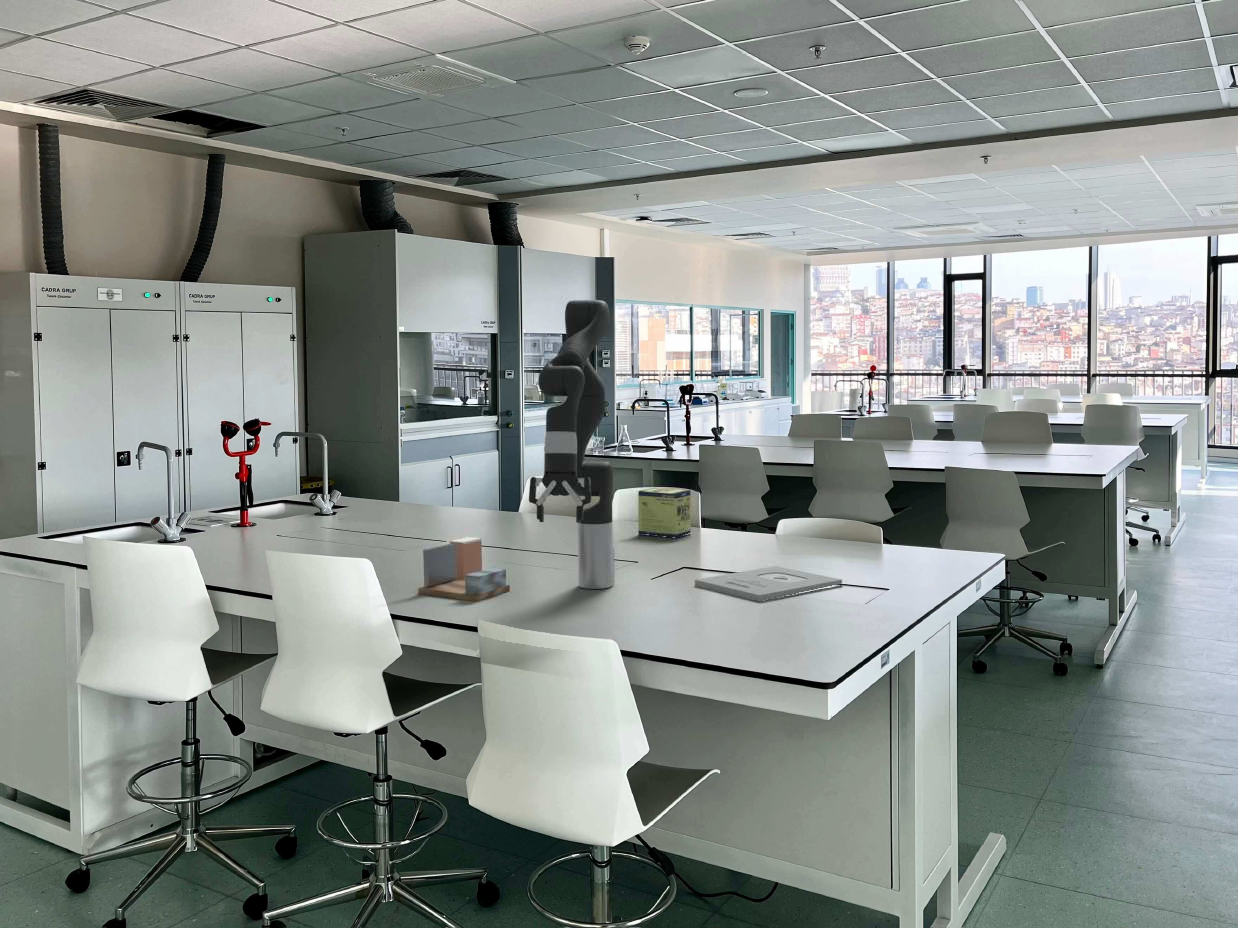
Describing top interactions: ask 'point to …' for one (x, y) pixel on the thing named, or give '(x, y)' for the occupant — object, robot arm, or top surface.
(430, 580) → the bookend
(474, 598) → the rack
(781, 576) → the award plaque
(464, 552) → the orange upright rectangular block
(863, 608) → the top surface
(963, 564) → the top surface
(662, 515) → the protein box
